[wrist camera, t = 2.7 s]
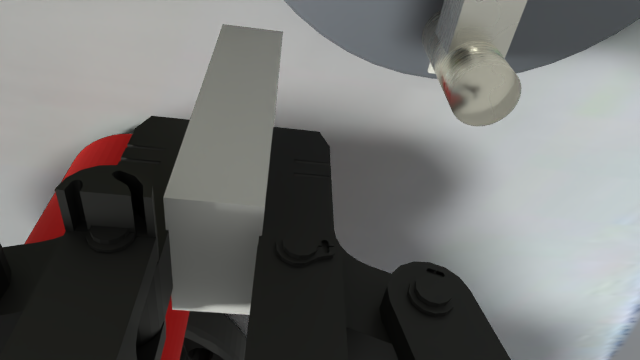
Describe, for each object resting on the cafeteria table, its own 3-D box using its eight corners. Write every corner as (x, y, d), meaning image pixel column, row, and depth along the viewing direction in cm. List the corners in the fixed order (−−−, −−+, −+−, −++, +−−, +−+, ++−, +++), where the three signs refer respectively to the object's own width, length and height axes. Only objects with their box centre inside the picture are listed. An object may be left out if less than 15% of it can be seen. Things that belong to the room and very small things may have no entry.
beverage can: (180, 240, 26) (112, 497, 17) (60, 188, 24) (-97, 454, 14) (240, 163, 23) (198, 424, 14) (110, 94, 21) (-48, 354, 11)
